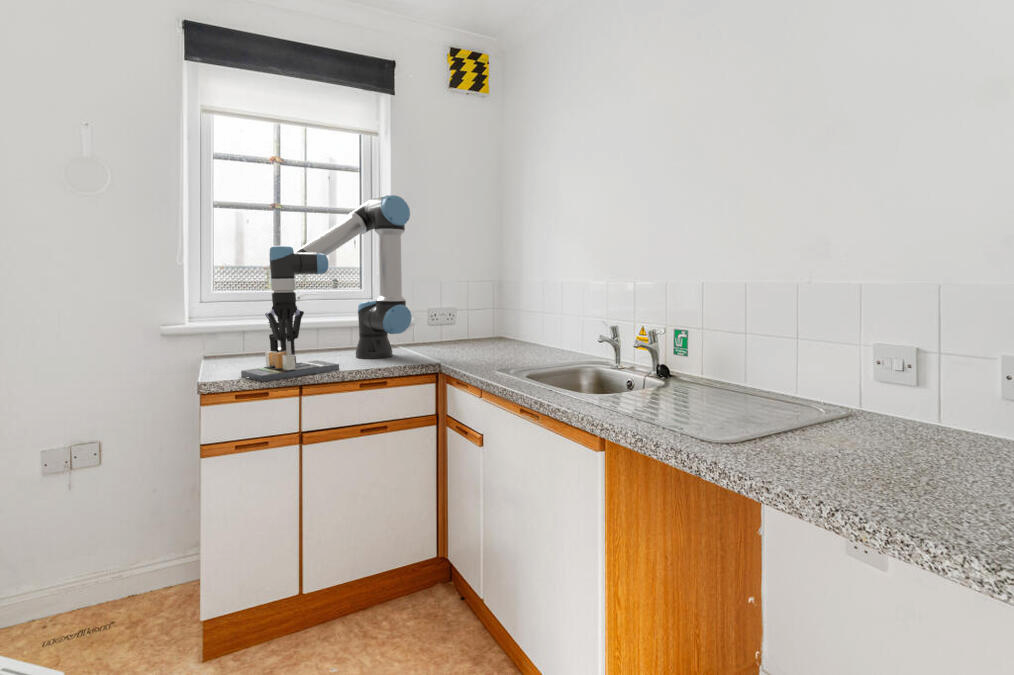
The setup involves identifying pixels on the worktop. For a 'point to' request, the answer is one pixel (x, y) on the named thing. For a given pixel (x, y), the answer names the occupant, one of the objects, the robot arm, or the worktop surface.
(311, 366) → the panel
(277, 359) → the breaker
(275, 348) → the french press
